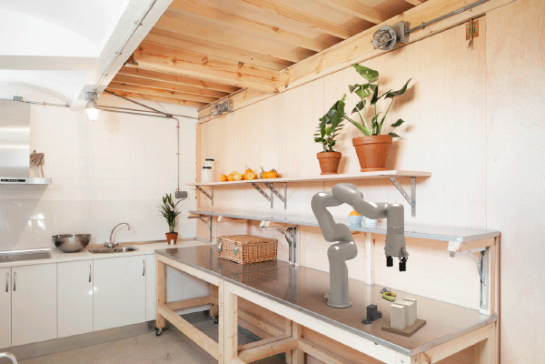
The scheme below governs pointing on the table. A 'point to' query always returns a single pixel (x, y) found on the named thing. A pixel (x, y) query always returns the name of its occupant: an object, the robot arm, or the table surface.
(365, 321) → the grey bar with discs
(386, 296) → the curved yellow hook
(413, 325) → the boxes on tan tray
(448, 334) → the table surface
